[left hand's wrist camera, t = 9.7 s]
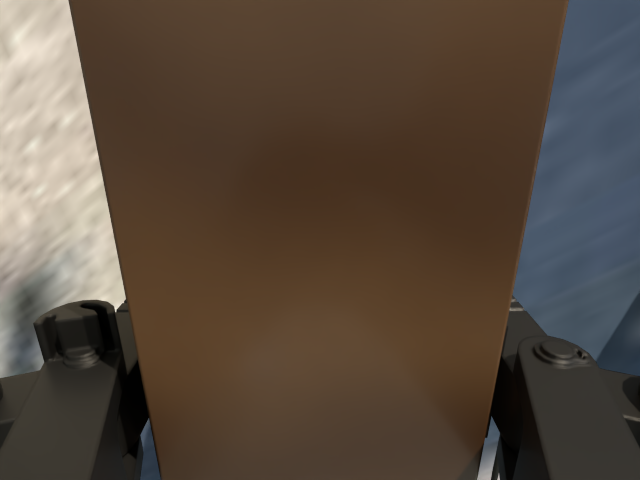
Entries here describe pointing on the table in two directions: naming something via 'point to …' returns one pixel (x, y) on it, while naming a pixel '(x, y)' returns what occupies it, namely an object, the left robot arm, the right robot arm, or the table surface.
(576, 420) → the left robot arm
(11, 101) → the table surface
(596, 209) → the table surface
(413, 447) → the board
